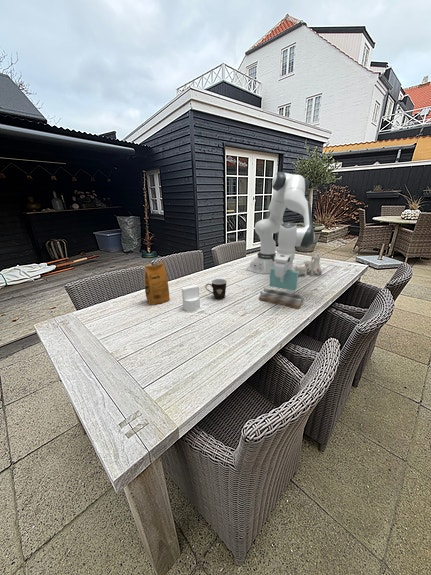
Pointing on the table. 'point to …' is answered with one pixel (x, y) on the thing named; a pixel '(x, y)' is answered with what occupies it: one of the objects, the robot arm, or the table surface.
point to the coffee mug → (218, 288)
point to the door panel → (289, 280)
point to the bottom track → (281, 298)
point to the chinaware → (311, 266)
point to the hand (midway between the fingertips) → (283, 280)
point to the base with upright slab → (191, 298)
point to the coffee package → (156, 284)
